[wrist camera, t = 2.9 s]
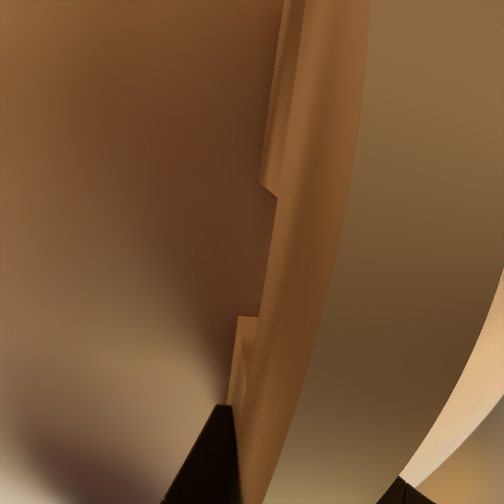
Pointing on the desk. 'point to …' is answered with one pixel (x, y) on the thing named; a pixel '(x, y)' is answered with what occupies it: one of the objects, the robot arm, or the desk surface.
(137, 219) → the desk surface
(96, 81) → the desk surface
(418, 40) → the oak plate
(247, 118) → the desk surface
